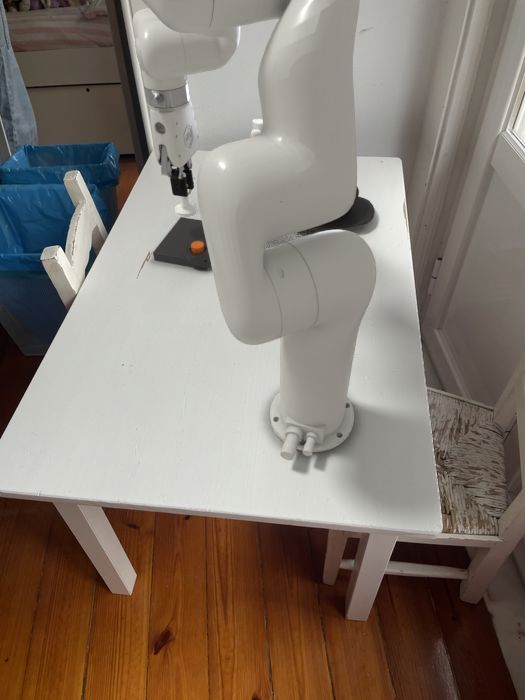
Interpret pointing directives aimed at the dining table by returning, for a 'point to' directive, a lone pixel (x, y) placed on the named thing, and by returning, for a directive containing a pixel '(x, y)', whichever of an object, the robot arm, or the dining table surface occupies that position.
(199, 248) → the button
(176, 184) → the robot arm
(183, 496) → the dining table surface
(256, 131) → the figurine
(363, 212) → the casserole
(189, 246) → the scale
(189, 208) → the chess piece
